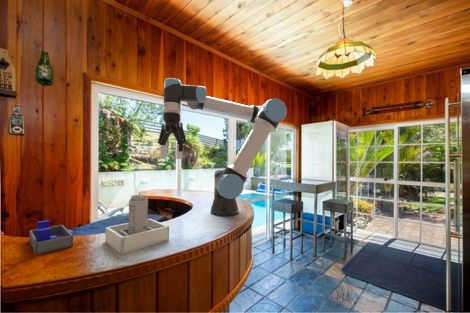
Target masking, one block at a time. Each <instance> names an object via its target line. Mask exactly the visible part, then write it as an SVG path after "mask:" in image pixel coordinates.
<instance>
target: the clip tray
mask: <svg viewBox="0 0 470 313" xmlns="http://www.w3.org/2000/svg"><path fill="white" fill-rule="evenodd" d="M49 228H50V236H54V235H56V239H51V240H46V241H41V242H37V228H35V229H31V230H29V232H28V233H29V235H28V236H29V238H28V241H29V243H30V245H31V248H32V251H33V253H34V255H35V256H37V255H43V254H46V253H50V252H54V251H59V250H64V249H67V248H72V247H73V246H74V235H73V234H72V233H71V232H70V231H69V230H68V229H67V228H66V227H65V226H64V225H63V224H59V225H54V226H49Z"/></svg>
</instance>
